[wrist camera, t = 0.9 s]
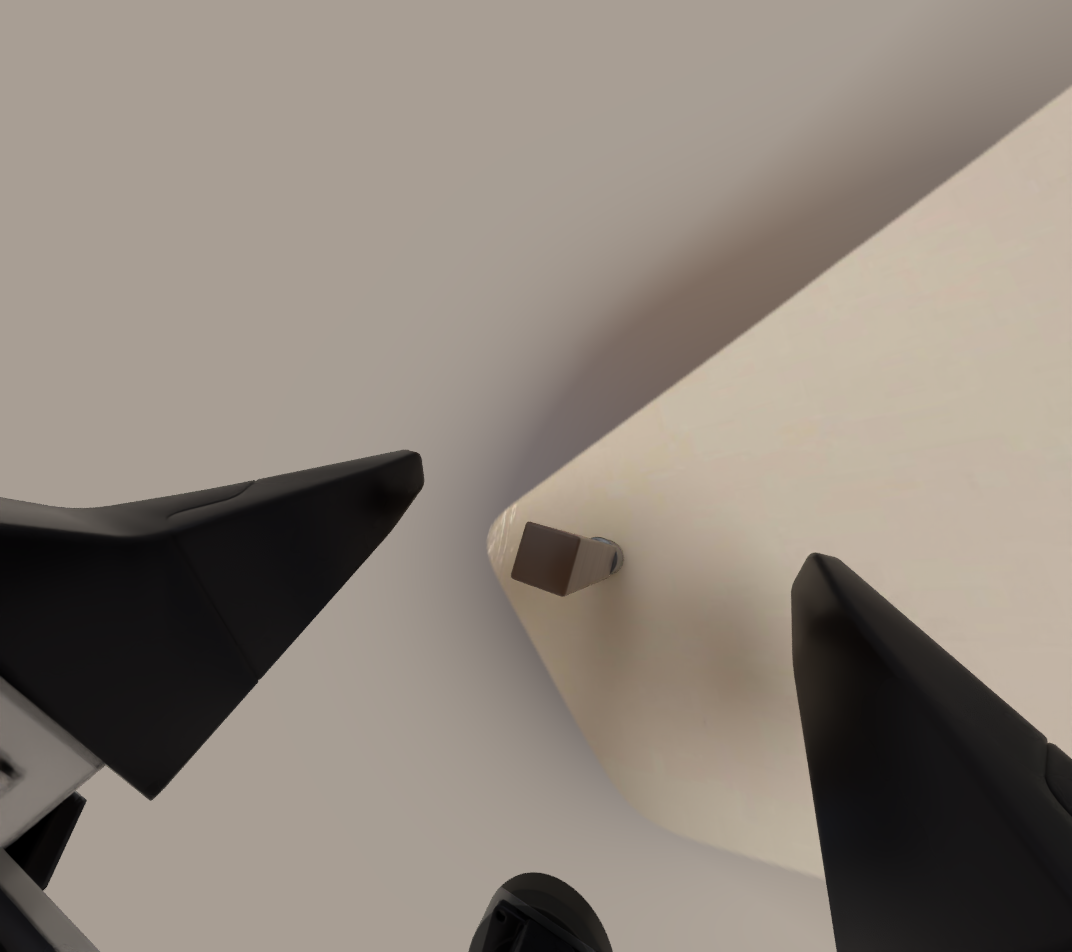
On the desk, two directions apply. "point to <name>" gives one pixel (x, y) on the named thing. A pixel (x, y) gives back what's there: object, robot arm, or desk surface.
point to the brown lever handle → (563, 559)
